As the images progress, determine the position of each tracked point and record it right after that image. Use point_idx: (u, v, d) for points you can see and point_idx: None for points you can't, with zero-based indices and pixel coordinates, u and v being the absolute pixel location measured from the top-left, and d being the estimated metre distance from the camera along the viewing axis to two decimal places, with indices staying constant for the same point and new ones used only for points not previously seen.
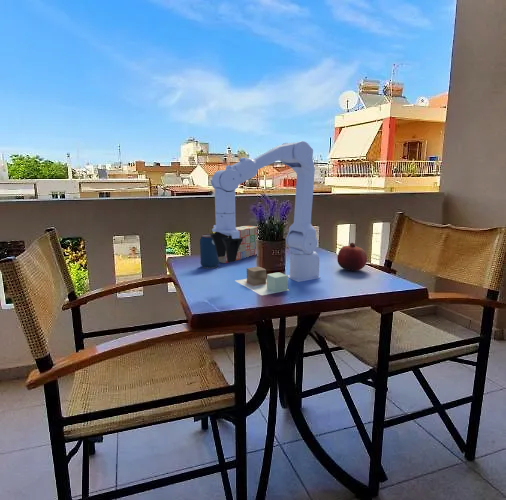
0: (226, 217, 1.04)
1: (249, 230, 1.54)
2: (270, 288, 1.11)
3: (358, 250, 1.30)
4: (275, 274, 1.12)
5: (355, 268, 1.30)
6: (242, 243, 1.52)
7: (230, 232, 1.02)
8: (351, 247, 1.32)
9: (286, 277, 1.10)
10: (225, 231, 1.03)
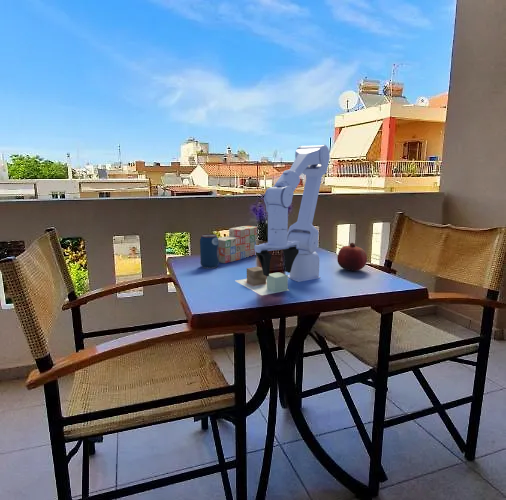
0: (268, 232, 1.08)
1: (249, 230, 1.54)
2: (270, 288, 1.11)
3: (358, 250, 1.30)
4: (275, 274, 1.12)
5: (355, 268, 1.30)
6: (242, 243, 1.52)
7: None
8: (351, 247, 1.32)
9: (286, 277, 1.10)
10: None
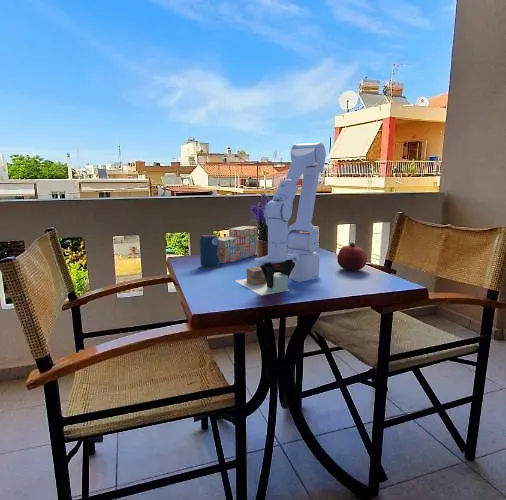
0: (268, 245, 1.09)
1: (249, 230, 1.54)
2: (270, 288, 1.11)
3: (358, 250, 1.30)
4: (275, 274, 1.12)
5: (355, 268, 1.30)
6: (242, 243, 1.51)
7: None
8: (351, 247, 1.32)
9: (286, 277, 1.10)
10: None
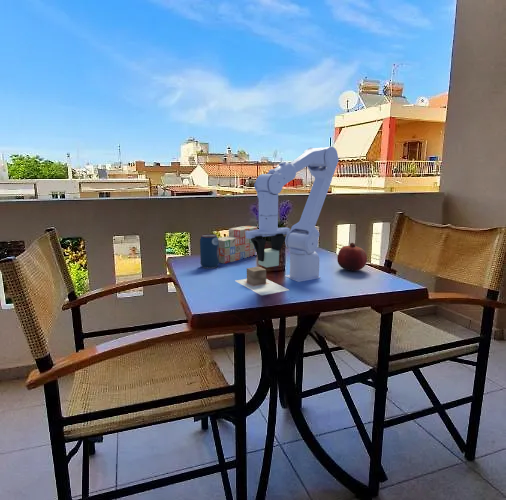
0: (259, 218, 1.10)
1: (248, 230, 1.54)
2: (261, 263, 1.12)
3: (358, 250, 1.30)
4: (266, 249, 1.13)
5: (355, 268, 1.30)
6: (241, 243, 1.51)
7: None
8: (351, 247, 1.31)
9: (277, 252, 1.11)
10: None
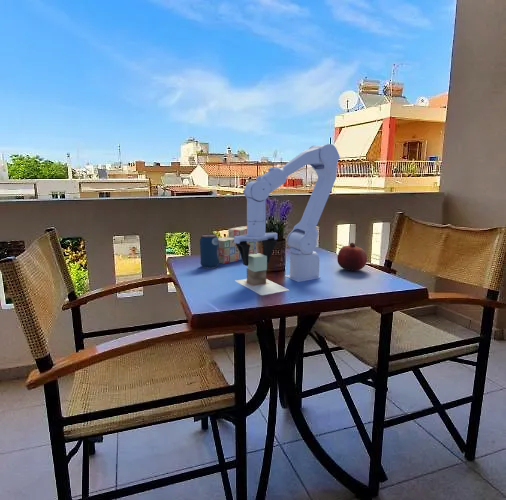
0: (247, 224, 1.14)
1: None
2: (250, 268, 1.16)
3: (358, 250, 1.30)
4: (255, 254, 1.17)
5: (355, 268, 1.30)
6: None
7: None
8: (351, 247, 1.31)
9: (265, 257, 1.16)
10: None
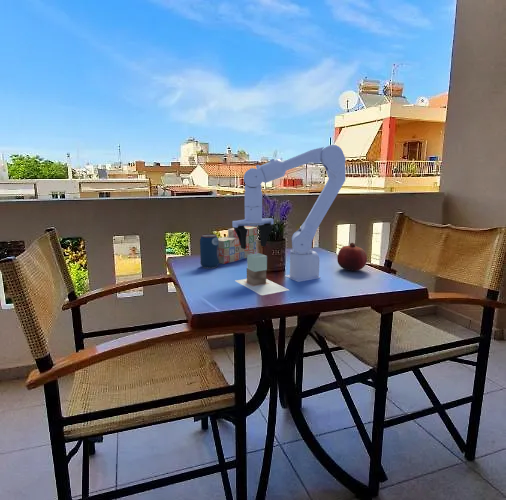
0: (245, 209, 1.21)
1: (248, 230, 1.53)
2: (250, 268, 1.16)
3: (358, 250, 1.30)
4: (255, 254, 1.17)
5: (355, 268, 1.30)
6: None
7: None
8: (351, 247, 1.32)
9: (265, 257, 1.16)
10: None
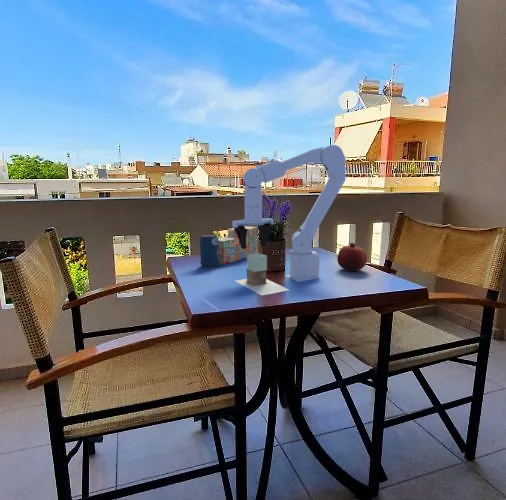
0: (245, 209, 1.21)
1: (248, 231, 1.53)
2: (250, 268, 1.16)
3: (358, 250, 1.30)
4: (255, 254, 1.17)
5: (355, 268, 1.30)
6: None
7: None
8: (351, 247, 1.31)
9: (265, 257, 1.16)
10: None
